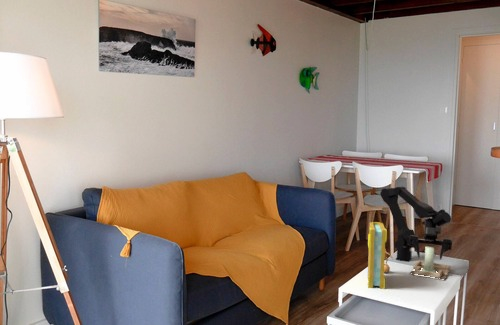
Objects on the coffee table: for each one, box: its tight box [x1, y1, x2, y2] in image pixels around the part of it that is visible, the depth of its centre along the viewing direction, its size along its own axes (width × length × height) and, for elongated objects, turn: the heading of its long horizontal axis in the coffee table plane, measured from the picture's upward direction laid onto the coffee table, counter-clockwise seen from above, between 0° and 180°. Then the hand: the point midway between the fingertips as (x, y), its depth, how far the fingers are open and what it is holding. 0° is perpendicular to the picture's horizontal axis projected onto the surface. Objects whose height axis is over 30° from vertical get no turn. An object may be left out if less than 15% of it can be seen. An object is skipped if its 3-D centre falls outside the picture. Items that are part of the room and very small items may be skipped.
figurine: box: [384, 248, 394, 274], centre depth 218 cm, size 8×6×12 cm
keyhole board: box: [409, 260, 451, 280], centre depth 221 cm, size 15×18×2 cm
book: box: [367, 221, 388, 290], centre depth 205 cm, size 17×7×25 cm, turn 168°
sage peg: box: [422, 245, 436, 273], centre depth 217 cm, size 6×6×12 cm
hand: (429, 258), depth 215 cm, fingers open, 9 cm apart
